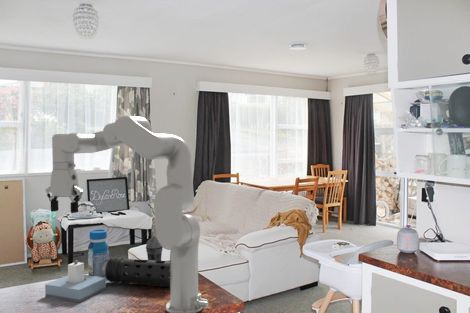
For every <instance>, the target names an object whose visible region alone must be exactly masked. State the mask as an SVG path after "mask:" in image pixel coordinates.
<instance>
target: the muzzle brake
mask: <svg viewBox="0 0 470 313" xmlns="http://www.w3.org/2000/svg"><path fill="white" fill-rule="evenodd" d="M102 276H103V277H104V278H106V281H108V282H110V283H120V285H130V284H139V285H140V284H141V285H142V286H145V285H146V286H151V287H152V286H153V287H162V288H163V287H164V288H165V287H166V288H167V287H168V288H170V260H161V261H156V260H148V259H138V258H137V259H134V258H126V259H125V258H123V257H111V258H109V259H107V260H106V261H105V262H104V264H103V267H102Z"/></svg>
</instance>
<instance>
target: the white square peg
mask: <svg viewBox="0 0 470 313" xmlns="http://www.w3.org/2000/svg"><path fill="white" fill-rule="evenodd" d="M67 275H68V283H72V284H78V283H80V282H83V281H84V275H85V262H80V261H79V260H77V259H76V260H75V259H74V261H73V262H72V263H69V264H67Z"/></svg>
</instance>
